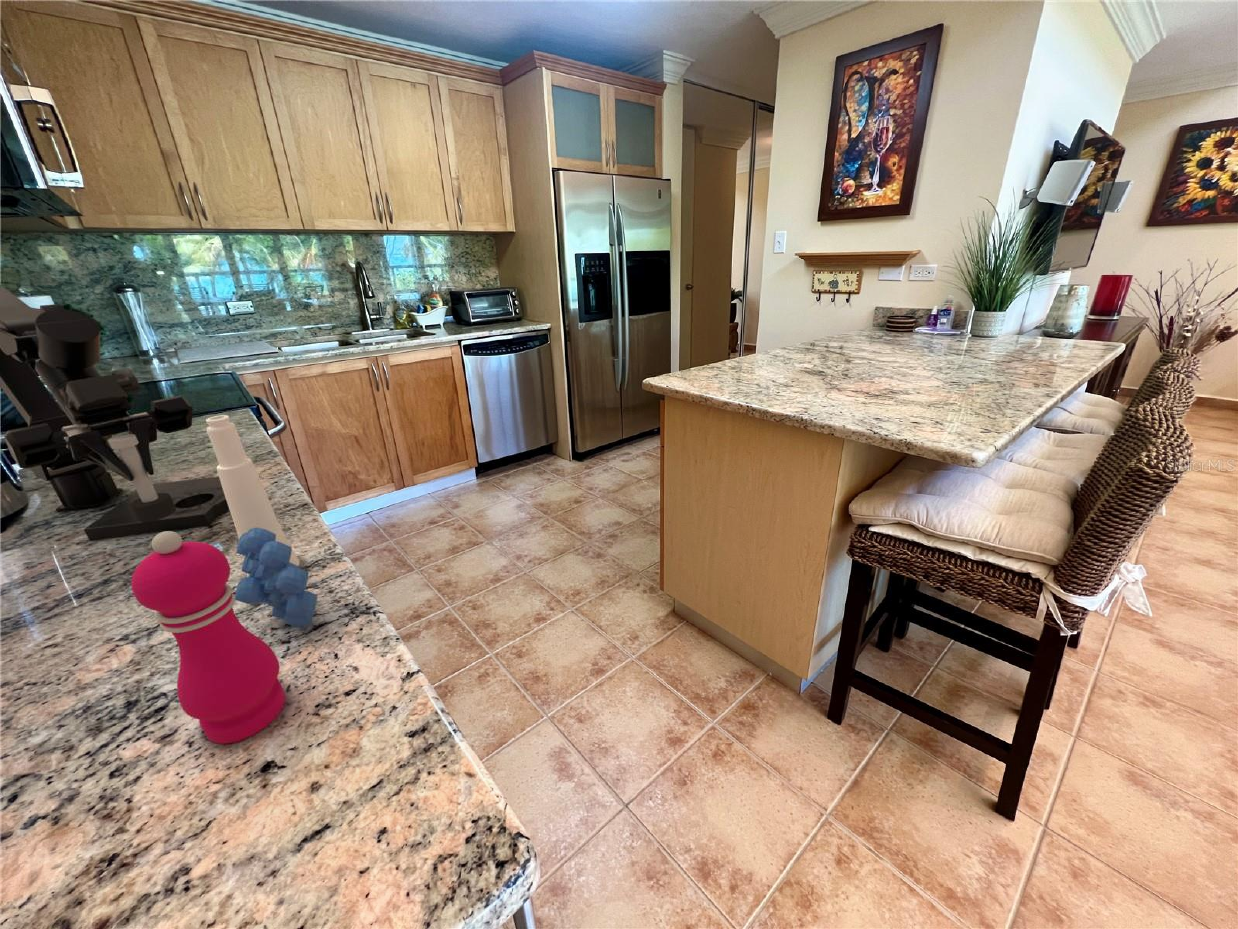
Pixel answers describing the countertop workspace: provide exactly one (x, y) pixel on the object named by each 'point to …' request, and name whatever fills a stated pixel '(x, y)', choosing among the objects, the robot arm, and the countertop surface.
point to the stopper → (142, 482)
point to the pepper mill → (209, 639)
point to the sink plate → (193, 508)
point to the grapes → (274, 578)
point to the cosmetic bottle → (242, 483)
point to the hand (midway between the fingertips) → (142, 476)
